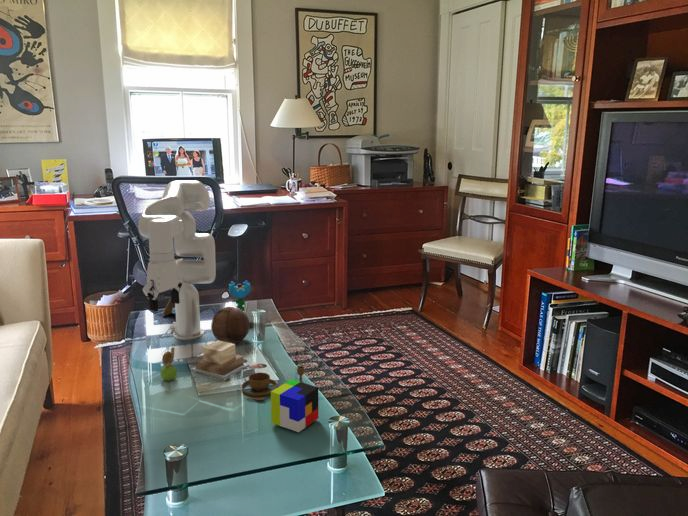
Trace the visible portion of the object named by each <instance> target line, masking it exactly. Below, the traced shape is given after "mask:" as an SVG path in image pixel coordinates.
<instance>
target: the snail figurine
mask: <svg viewBox="0 0 688 516" xmlns="http://www.w3.org/2000/svg"><path fill="white" fill-rule="evenodd" d="M171 346H172V347H171V348H170V351H168V350H167V351H165V352H164V354H163V355H162V359H161V360H162V364H163V366H162V368H161V370H160V376H161V378H162V380H164V381H168V382H169V381H173V380H175V378H176V377H177V375H178V370H177V368H176V367H175V365H172V364H173V362H174V360H175V359H174V358H175V351H176V350H175V349H176V348H175V343H171Z"/></svg>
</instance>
